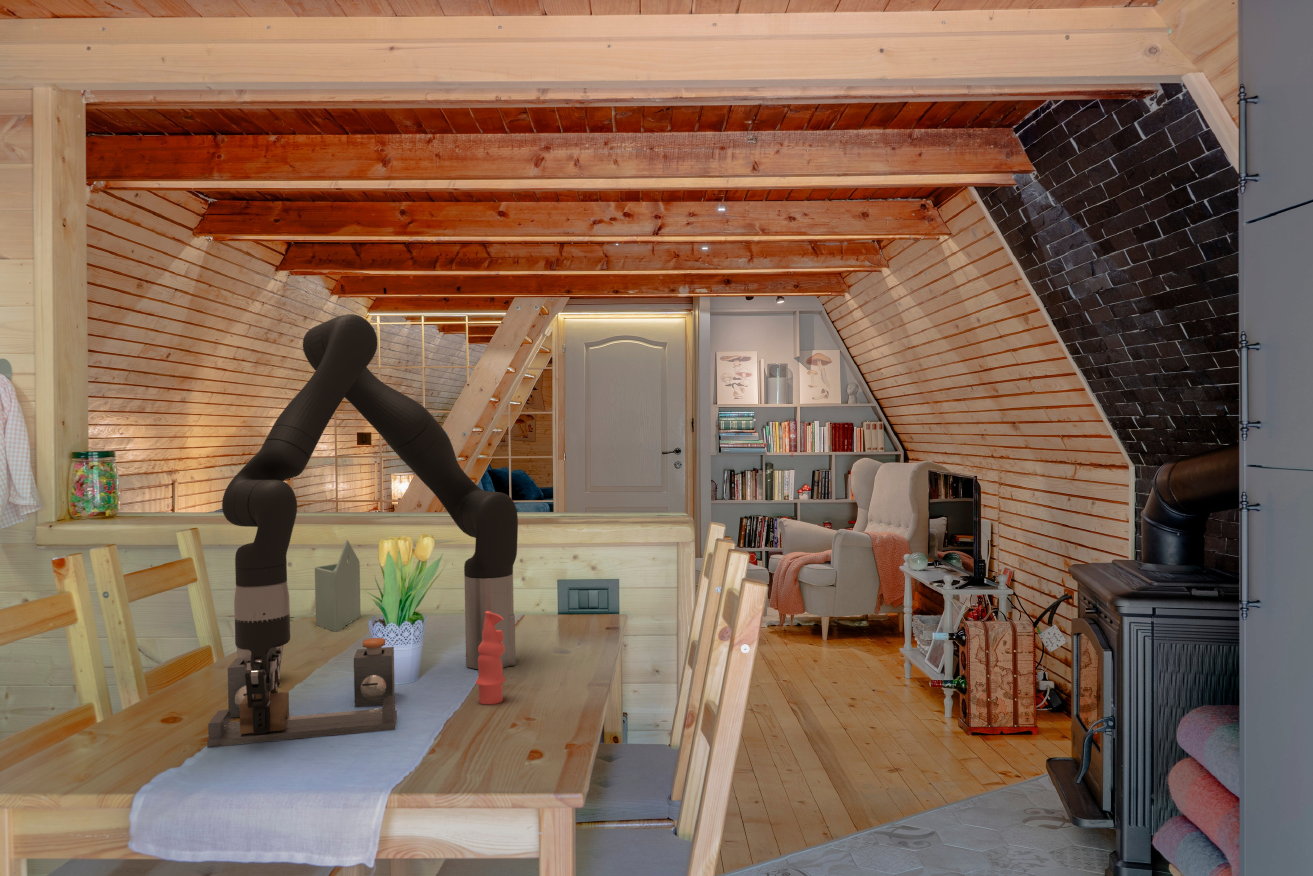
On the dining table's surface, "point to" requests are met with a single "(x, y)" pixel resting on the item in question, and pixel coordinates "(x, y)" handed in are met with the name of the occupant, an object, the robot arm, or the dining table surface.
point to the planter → (338, 591)
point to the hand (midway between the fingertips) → (265, 726)
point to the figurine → (491, 661)
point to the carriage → (277, 712)
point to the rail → (306, 725)
